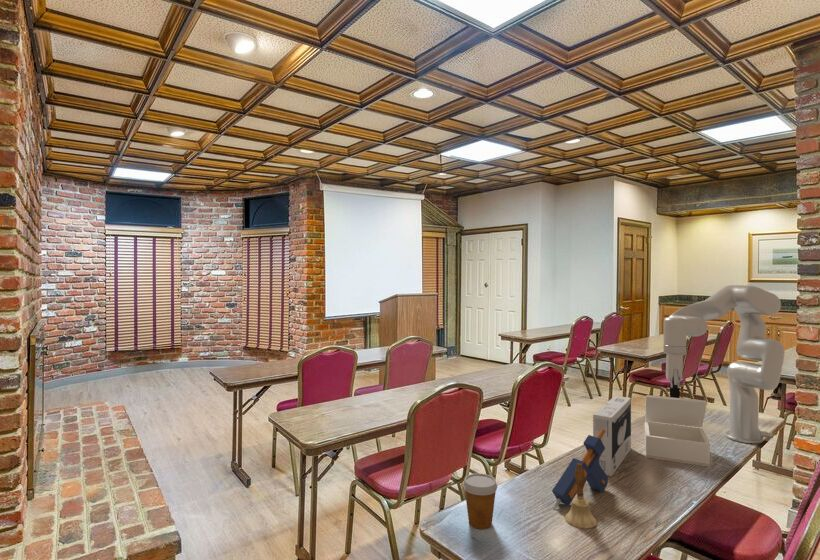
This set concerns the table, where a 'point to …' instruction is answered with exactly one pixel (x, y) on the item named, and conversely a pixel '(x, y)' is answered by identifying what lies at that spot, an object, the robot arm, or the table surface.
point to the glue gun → (592, 470)
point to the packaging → (614, 432)
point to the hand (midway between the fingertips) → (674, 397)
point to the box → (677, 444)
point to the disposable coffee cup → (480, 499)
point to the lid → (675, 410)
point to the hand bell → (580, 505)
